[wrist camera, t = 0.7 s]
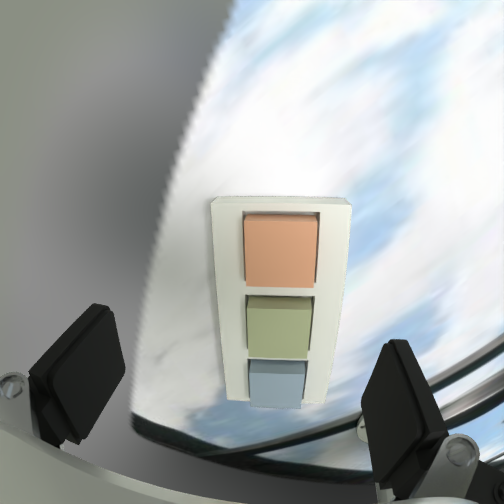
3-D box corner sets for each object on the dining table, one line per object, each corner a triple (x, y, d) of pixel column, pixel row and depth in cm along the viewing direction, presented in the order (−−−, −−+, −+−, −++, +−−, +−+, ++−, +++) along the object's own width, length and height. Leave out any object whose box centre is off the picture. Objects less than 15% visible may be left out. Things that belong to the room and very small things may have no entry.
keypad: (323, 386, 36) (324, 403, 33) (231, 383, 37) (227, 399, 34) (345, 198, 27) (351, 204, 24) (218, 196, 28) (210, 203, 26)
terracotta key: (311, 276, 28) (313, 287, 26) (249, 275, 28) (246, 286, 26) (314, 215, 25) (317, 222, 23) (247, 214, 26) (244, 220, 24)
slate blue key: (300, 395, 33) (300, 408, 31) (252, 393, 34) (250, 406, 32) (304, 360, 31) (305, 374, 29) (251, 359, 32) (249, 372, 30)
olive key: (306, 345, 30) (306, 358, 28) (250, 343, 31) (248, 356, 29) (310, 297, 28) (311, 309, 26) (249, 296, 29) (246, 308, 27)
